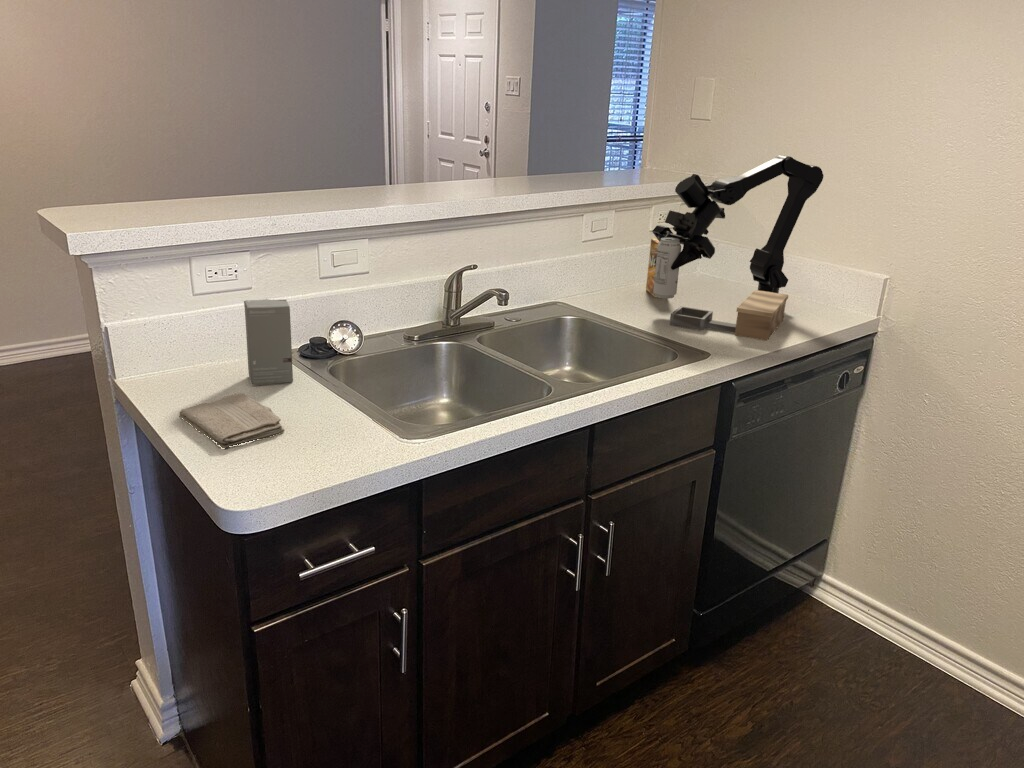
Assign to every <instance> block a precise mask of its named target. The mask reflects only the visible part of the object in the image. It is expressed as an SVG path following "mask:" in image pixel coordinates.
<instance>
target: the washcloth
mask: <svg viewBox="0 0 1024 768" xmlns="http://www.w3.org/2000/svg"><path fill="white" fill-rule="evenodd" d="M179 418H180V419H181V418H183V419H184V420H185V421H187V422H188V423H190V424H191V425H192V426H193V427H192V426H191V425H190V426H191V427H192V428H194V427H195V428H196V429H197V430H196V429H195V428H194V429H195V430H196V431H197V432H198V431H200V432H201V433H200V432H199V433H200V434H202V433H203V434H205V435H206V436H208V437H209V438H211V440H214V441H215V442H217V445H220V446H221V447H222V448H226V447H229V446H233V445H237V444H238V445H239V444H241V443H245V442H249V441H253V440H257V439H262V440H264V439H263V438H265V439H267V438H266V437H269V436H272V437H274V436H273V435H275V436H277V435H276V434H279V433H281V434H283V433H284V432H285V429H284V427H283V426H282V425H281V423H280V422H281V420H282V418H280V417H279V416H278V415H276V414H275V413H274V412H273V411H272V408H271V407H267V406H265V405H263V404H262V403H260V402H259V401H258V400H256V399H254V398H251V397H249V396H248V395H247V394H245V393H242V392H241V393H240V392H239V393H234V394H231V395H228V396H224V397H222V398H220V399H215V400H214V401H210V402H204V403H200V404H196V405H192V406H188V407H186V408H182V409H181V410H180V411H179ZM183 419H182V420H183ZM184 420H183V421H184ZM185 421H184V422H185ZM187 422H186V423H187ZM188 423H187V424H188ZM203 434H202V435H203ZM205 435H204V436H205ZM279 435H280V434H279ZM206 436H205V437H206ZM209 438H208V439H209ZM269 438H270V437H269ZM211 440H210V441H211ZM217 445H216V446H217ZM226 449H227V448H226Z"/></svg>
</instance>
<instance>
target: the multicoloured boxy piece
mask: <svg viewBox="0 0 1024 768" xmlns="http://www.w3.org/2000/svg"><path fill="white" fill-rule="evenodd" d="M788 299H789V294H785V293H780V292H779V293H773V292H766V291H759V290H758V289H754V290H753V292H752V293H750V295H748V296H747V297H746V298H745V299H744V300H743V301H742V302H741V303H740V304H739V305H738V306H737V307H736V313H737V315H736V316H737V317H736V323H731V322H726V321H721V320H714V319H713V315H714V311H712V310H707V309H700V308H694V307H688V306H682V305H680V306H679V307H677V308H676V309H675V310H674V311H672V312H671V313H670V317H669V324H668V325H669V326H671V327H672V326H673V327H678V328H685V329H690V330H695V331H700V332H701V331H702V332H703V331H704V330H706V329H709V330H715V331H720V332H726V333H727V332H728V333H732V334H734V335H735V336H740V337H744V338H750V339H756V340H757V339H758V340H762V341H769V339H770V338H771V337H772V336H773V334H774V333H775V332H774V331H776V330H777V329H778V328H777V327H780V326H781V324H780V323H783V322H784V315H785V310H786V303H787V300H788Z"/></svg>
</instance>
